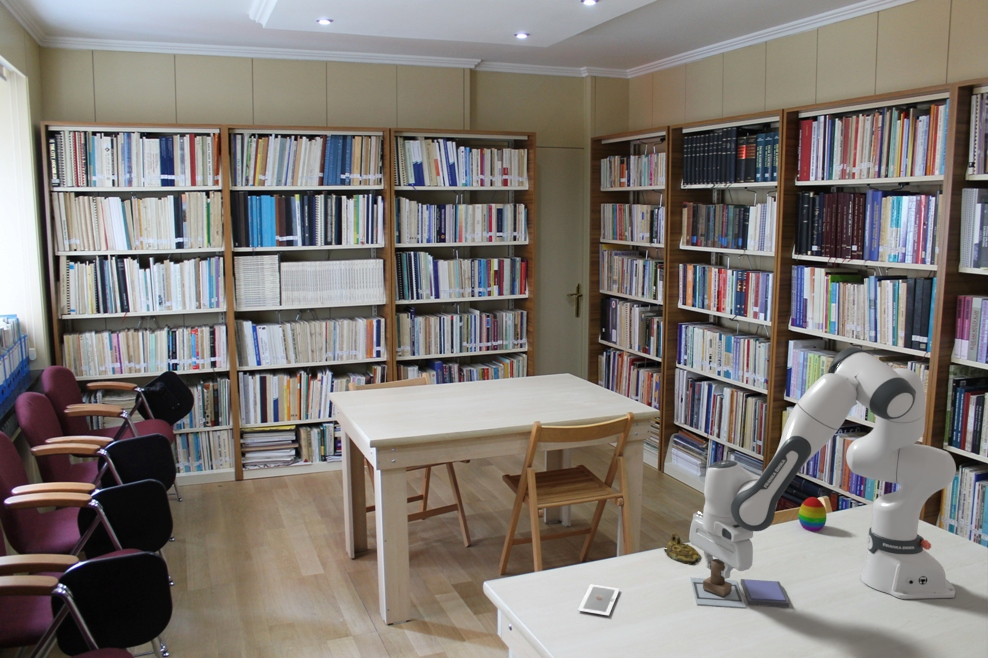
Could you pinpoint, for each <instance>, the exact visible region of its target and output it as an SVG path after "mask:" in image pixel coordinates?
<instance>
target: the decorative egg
mask: <svg viewBox="0 0 988 658" xmlns="http://www.w3.org/2000/svg"><path fill="white" fill-rule="evenodd" d="M798 520H799V521H798V522H799V524H800V526H801V527H802V528H803V529H805V530H806V531H807V530H808V531H811V532H818V531H821V530H822V529H823V528H824V527H825V525H826V522H827V512H826V508H825V505H824V504H823V502H822V501H821V499H819V498H818V497H814V496H811V497H808V498H806V499H805V500H804V501H803V502H802V503H801V505H800V508H799V511H798Z"/></svg>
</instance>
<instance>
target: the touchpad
mask: <svg viewBox="0 0 988 658" xmlns="http://www.w3.org/2000/svg"><path fill="white" fill-rule="evenodd" d="M620 590H621V589H620V588H617V587H612V586H605V585H598V584H592V583H590V584H589V586H588V588H587V590H586V592H585V595H584V596H583V598H582V600H581V602H580V604H579V607H578V608H577V611H580V612H586V613H592V614H598V615H602V616H603V615H604V616H610V614H611V610H612V609H613V606H614V603H615V601H616V598H617V597H618V594H619V592H620Z"/></svg>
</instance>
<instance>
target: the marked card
mask: <svg viewBox="0 0 988 658" xmlns="http://www.w3.org/2000/svg"><path fill="white" fill-rule="evenodd" d="M707 578H708V577H707ZM707 578H704V577H692V576H691V577H690V582H691V586H692V591H693V594H694V598H695V603H696V606H706V607H707V606H708V607H720V608H721V607H722V608H734V609H735V608H737V609H747V606H746V604H745V602H744V601H745V600H744V598H743V596H742V593H741V591H740V588H739V585H738V583H737V580H736V579H725V581H726V582H729V583H732V590H731V592H730V594H728V595H727V596H725V597H724V598H722V597H719V596H717V595H714V594H711V593H709V592H706V591H704V589H703V581H704V580H706V579H707Z"/></svg>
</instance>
